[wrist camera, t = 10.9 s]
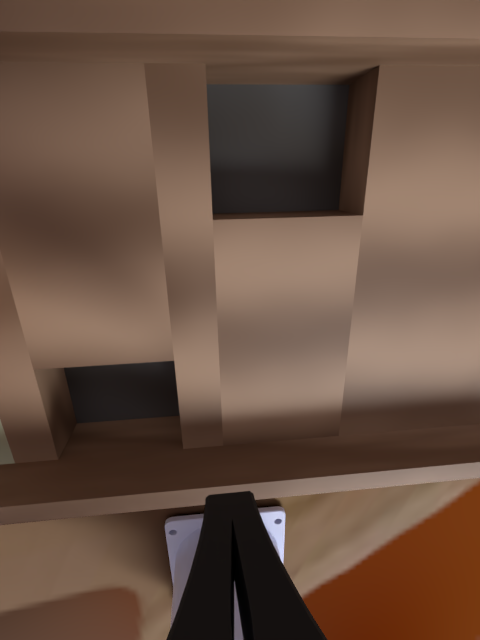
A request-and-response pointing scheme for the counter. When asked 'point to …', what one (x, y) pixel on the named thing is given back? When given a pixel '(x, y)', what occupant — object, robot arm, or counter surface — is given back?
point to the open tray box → (236, 250)
